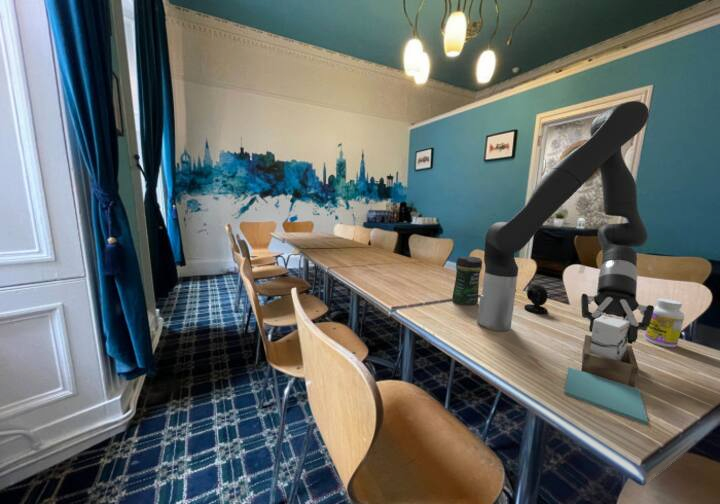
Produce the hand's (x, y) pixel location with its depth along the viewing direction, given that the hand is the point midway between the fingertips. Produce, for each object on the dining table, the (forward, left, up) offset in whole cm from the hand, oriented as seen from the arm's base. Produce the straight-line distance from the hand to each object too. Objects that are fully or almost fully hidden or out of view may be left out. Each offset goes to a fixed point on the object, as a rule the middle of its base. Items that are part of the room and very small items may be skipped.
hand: (611, 337), depth 67 cm
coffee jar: (-42, +22, -8) cm, 48 cm away
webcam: (-19, +32, -8) cm, 38 cm away
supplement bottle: (+13, +28, -8) cm, 32 cm away
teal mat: (-1, -15, -7) cm, 17 cm away
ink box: (0, -1, -7) cm, 8 cm away
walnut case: (0, -1, -7) cm, 7 cm away
